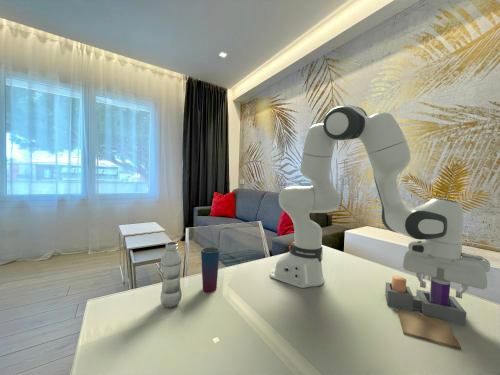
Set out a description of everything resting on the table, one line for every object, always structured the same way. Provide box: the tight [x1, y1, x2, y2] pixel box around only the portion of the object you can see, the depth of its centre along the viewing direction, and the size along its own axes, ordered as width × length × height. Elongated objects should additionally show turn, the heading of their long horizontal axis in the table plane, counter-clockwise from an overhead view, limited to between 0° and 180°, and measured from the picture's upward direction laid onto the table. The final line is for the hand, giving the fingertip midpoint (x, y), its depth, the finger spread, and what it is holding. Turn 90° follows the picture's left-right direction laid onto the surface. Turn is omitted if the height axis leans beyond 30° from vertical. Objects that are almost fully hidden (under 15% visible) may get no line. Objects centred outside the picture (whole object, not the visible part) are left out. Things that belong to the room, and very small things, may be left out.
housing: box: [384, 281, 467, 327], centre depth 74 cm, size 20×10×5 cm, turn 64°
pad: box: [396, 308, 462, 351], centre depth 63 cm, size 12×12×1 cm
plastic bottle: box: [160, 241, 183, 308], centre depth 72 cm, size 6×7×20 cm
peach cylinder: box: [391, 275, 407, 293], centre depth 76 cm, size 4×4×8 cm
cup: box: [200, 246, 221, 294], centre depth 82 cm, size 7×7×15 cm
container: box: [429, 267, 451, 307], centre depth 71 cm, size 5×5×15 cm
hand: (440, 292), depth 71 cm, fingers open, 7 cm apart
